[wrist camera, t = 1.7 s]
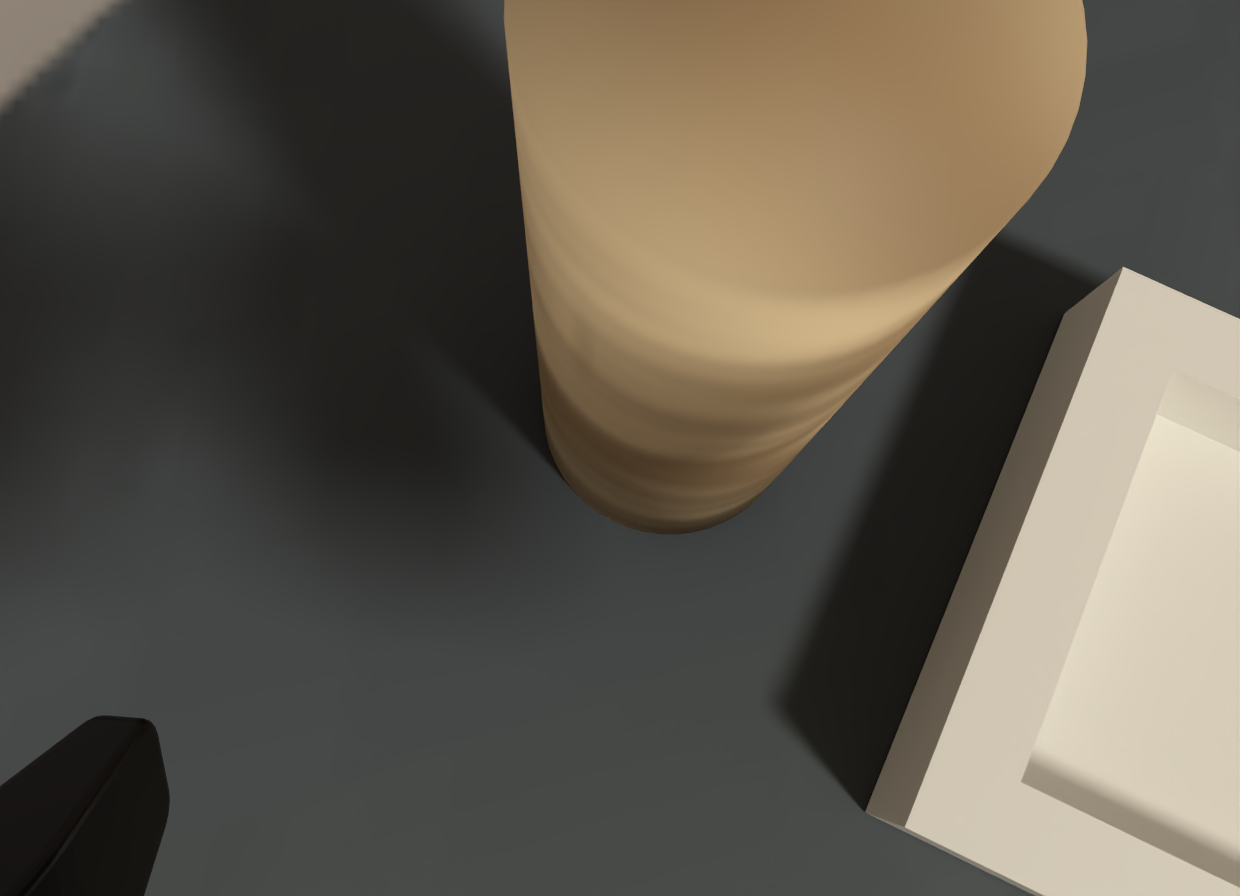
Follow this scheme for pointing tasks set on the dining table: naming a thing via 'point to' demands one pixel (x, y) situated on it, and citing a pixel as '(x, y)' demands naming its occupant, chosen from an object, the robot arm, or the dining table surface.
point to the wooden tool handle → (757, 215)
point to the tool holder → (1096, 624)
